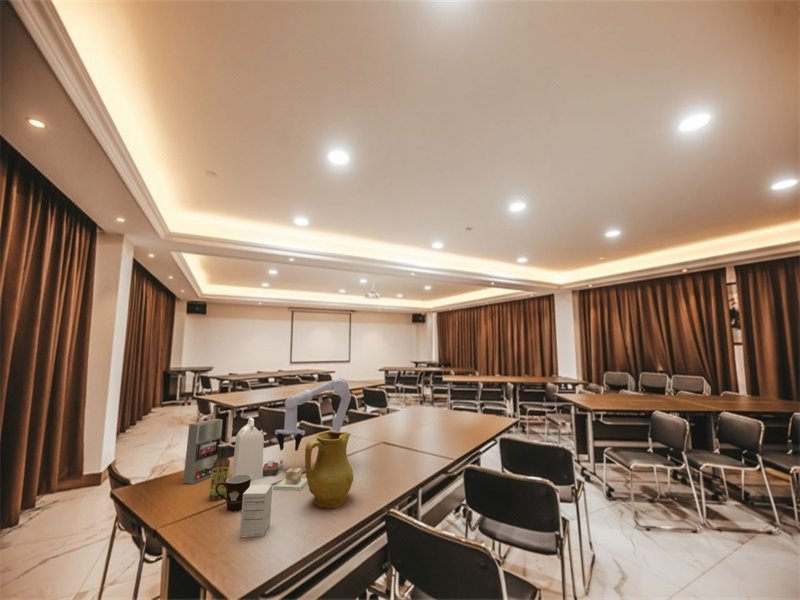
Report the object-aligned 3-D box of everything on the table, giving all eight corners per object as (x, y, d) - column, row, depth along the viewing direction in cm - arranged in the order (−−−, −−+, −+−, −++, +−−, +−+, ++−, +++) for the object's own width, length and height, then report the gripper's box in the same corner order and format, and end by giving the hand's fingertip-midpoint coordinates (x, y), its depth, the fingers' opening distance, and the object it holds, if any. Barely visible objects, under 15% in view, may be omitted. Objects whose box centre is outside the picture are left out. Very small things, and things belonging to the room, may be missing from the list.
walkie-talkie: (280, 476, 151) (283, 463, 170) (281, 466, 152) (284, 454, 171) (260, 478, 148) (265, 464, 167) (261, 468, 149) (266, 455, 168)
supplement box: (247, 525, 106) (250, 484, 109) (270, 524, 107) (273, 483, 109) (238, 537, 99) (242, 493, 101) (263, 536, 100) (266, 492, 102)
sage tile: (311, 479, 146) (311, 477, 146) (300, 490, 134) (300, 487, 135) (285, 478, 147) (285, 476, 147) (273, 489, 135) (273, 486, 136)
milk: (262, 478, 148) (266, 419, 152) (234, 483, 142) (240, 422, 146) (257, 470, 158) (261, 415, 162) (231, 475, 151) (236, 417, 156)
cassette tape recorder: (192, 484, 140) (198, 425, 145) (182, 483, 142) (188, 424, 147) (219, 474, 153) (224, 419, 158) (209, 472, 155) (214, 418, 159)
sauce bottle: (207, 502, 123) (212, 447, 127) (209, 496, 129) (214, 443, 132) (226, 499, 126) (230, 445, 129) (227, 493, 131) (232, 442, 135)
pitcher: (353, 509, 117) (355, 437, 122) (300, 513, 114) (304, 439, 119) (352, 490, 134) (354, 427, 138) (306, 493, 131) (309, 429, 135)
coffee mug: (254, 504, 121) (256, 476, 123) (236, 515, 113) (238, 484, 115) (230, 500, 125) (233, 472, 127) (211, 510, 117) (214, 480, 119)
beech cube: (300, 480, 143) (301, 468, 144) (296, 484, 138) (296, 472, 139) (290, 479, 144) (290, 467, 145) (285, 484, 139) (285, 471, 140)
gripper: (273, 422, 157) (271, 452, 155) (301, 423, 156) (300, 452, 153) (279, 419, 164) (277, 447, 162) (307, 420, 163) (305, 448, 160)
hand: (289, 450), depth 158 cm, fingers open, 7 cm apart
